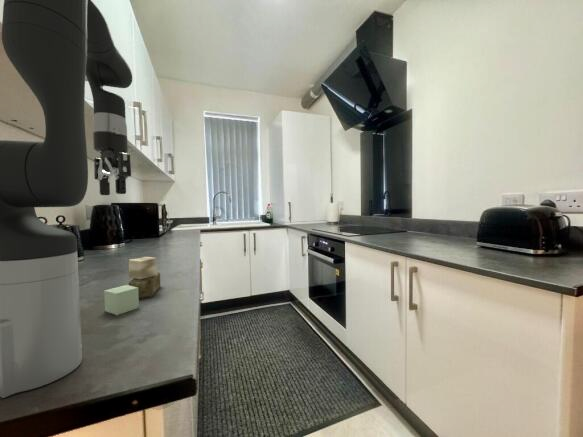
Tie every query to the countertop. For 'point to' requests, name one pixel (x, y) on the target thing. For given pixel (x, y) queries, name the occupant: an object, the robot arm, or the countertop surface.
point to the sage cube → (121, 299)
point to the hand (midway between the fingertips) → (112, 194)
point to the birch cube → (142, 267)
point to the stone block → (146, 285)
